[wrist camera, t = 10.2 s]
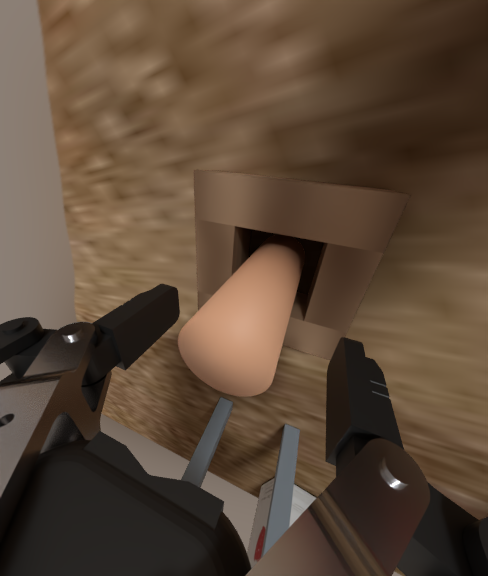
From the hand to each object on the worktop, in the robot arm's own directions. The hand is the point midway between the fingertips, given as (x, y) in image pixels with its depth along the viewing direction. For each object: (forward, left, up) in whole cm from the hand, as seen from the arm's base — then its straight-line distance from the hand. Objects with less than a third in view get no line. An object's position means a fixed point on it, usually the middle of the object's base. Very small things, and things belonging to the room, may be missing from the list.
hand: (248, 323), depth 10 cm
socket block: (0, 0, -10) cm, 10 cm away
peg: (0, 0, -10) cm, 10 cm away
